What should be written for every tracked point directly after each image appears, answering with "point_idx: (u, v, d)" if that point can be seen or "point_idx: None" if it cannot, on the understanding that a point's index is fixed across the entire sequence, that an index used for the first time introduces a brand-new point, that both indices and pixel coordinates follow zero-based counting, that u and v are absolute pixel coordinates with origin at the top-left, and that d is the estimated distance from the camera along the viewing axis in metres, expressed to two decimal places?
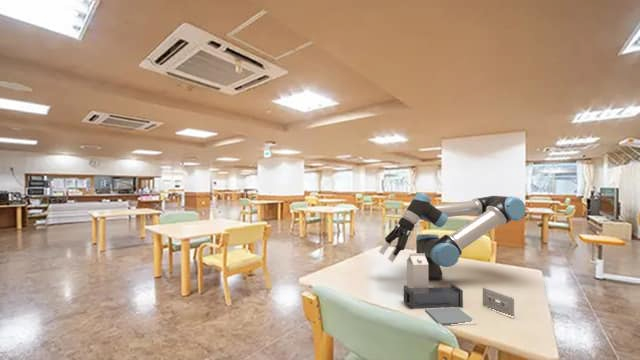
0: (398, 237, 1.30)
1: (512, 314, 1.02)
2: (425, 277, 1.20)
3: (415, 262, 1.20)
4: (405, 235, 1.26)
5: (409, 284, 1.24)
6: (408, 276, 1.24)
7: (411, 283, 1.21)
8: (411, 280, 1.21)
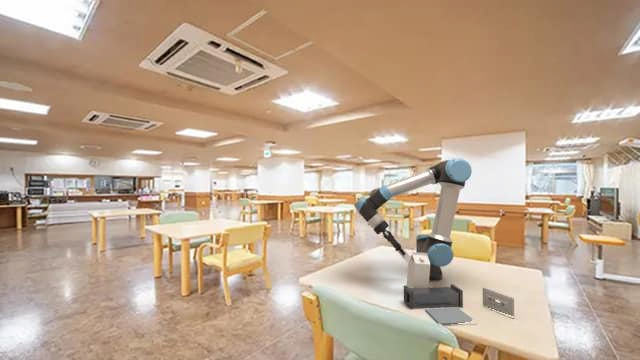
0: (390, 241, 1.29)
1: (512, 314, 1.02)
2: (426, 277, 1.20)
3: (417, 261, 1.21)
4: (388, 236, 1.26)
5: (409, 283, 1.24)
6: (409, 275, 1.24)
7: (411, 281, 1.21)
8: (411, 278, 1.21)
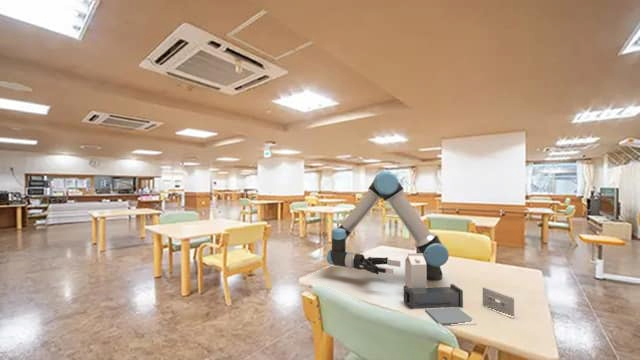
0: None
1: (512, 314, 1.02)
2: (423, 277, 1.20)
3: (413, 262, 1.21)
4: (364, 268, 1.29)
5: (407, 284, 1.24)
6: (407, 276, 1.24)
7: (409, 283, 1.21)
8: (409, 280, 1.21)
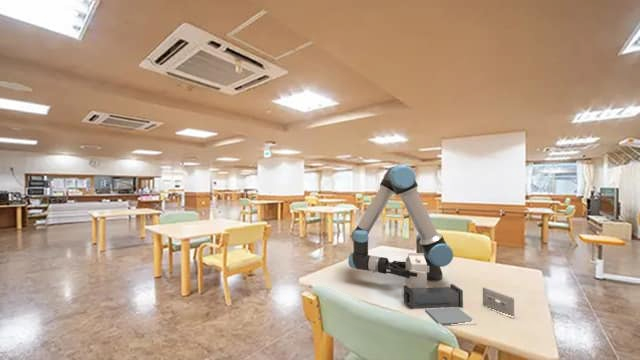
0: None
1: (512, 314, 1.02)
2: None
3: (414, 262, 1.21)
4: (392, 272, 1.22)
5: (407, 284, 1.24)
6: None
7: (409, 283, 1.21)
8: (409, 280, 1.21)
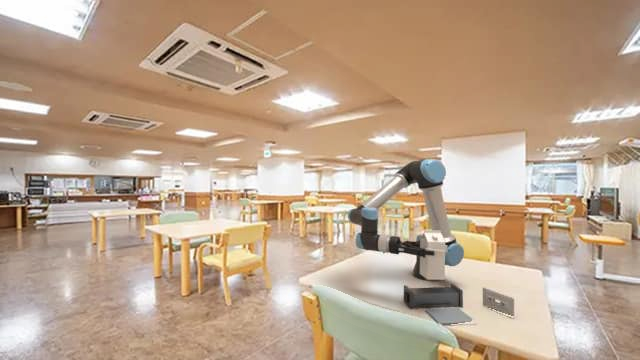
0: None
1: (512, 314, 1.02)
2: None
3: (430, 239, 1.06)
4: (405, 251, 1.08)
5: (422, 265, 1.10)
6: (422, 256, 1.10)
7: (425, 263, 1.07)
8: (425, 260, 1.07)
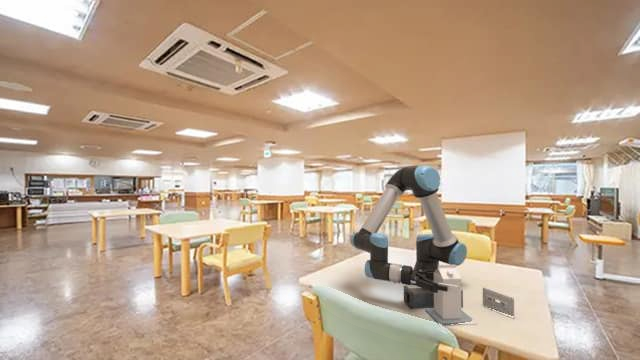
0: None
1: (512, 314, 1.02)
2: (458, 294, 1.00)
3: (445, 276, 1.00)
4: (417, 284, 1.02)
5: (437, 302, 1.03)
6: None
7: (440, 301, 1.01)
8: (440, 297, 1.01)
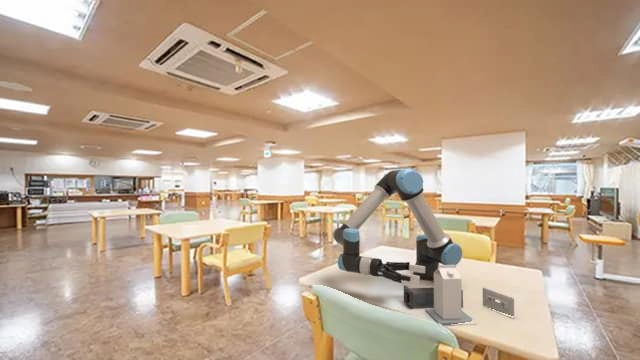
0: None
1: (512, 314, 1.02)
2: (458, 294, 1.00)
3: (445, 276, 1.00)
4: (383, 275, 1.08)
5: (437, 302, 1.03)
6: (436, 292, 1.04)
7: (440, 301, 1.01)
8: (440, 297, 1.01)
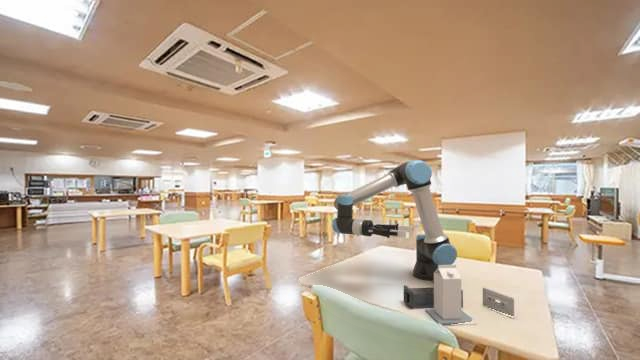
0: None
1: (512, 314, 1.02)
2: (458, 294, 1.00)
3: (445, 276, 1.00)
4: (373, 232, 1.18)
5: (437, 302, 1.03)
6: (436, 292, 1.04)
7: (440, 301, 1.01)
8: (440, 297, 1.01)
